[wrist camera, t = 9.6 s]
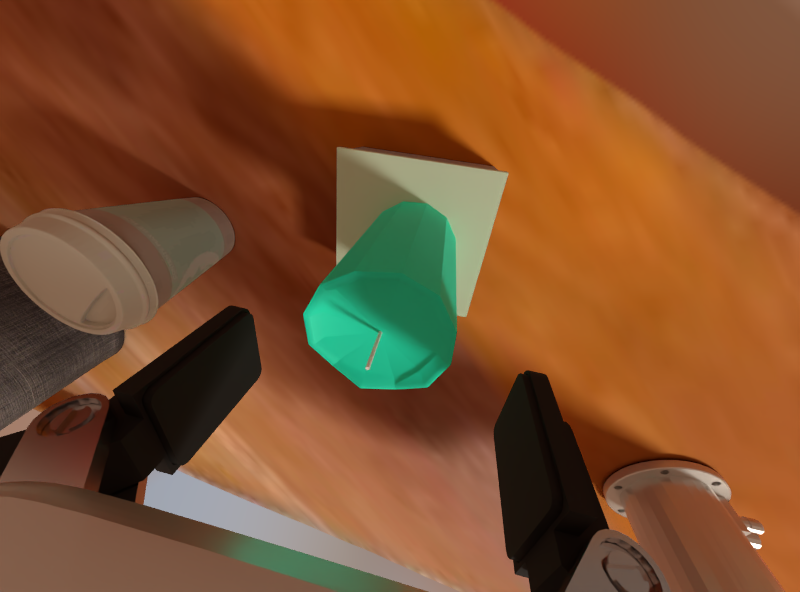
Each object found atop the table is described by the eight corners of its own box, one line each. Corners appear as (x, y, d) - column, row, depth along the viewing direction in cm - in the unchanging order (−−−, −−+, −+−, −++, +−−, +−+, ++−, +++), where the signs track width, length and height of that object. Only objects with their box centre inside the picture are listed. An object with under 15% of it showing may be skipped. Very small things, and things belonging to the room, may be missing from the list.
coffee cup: (188, 268, 31) (55, 339, 20) (147, 183, 26) (-46, 219, 16) (260, 268, 29) (155, 344, 19) (229, 178, 25) (72, 213, 15)
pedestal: (497, 163, 21) (508, 172, 17) (464, 286, 26) (466, 317, 22) (359, 143, 22) (336, 147, 18) (354, 266, 27) (336, 292, 23)
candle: (359, 209, 19) (253, 301, 9) (450, 192, 18) (443, 279, 8) (381, 287, 22) (318, 425, 12) (460, 278, 21) (467, 426, 10)
